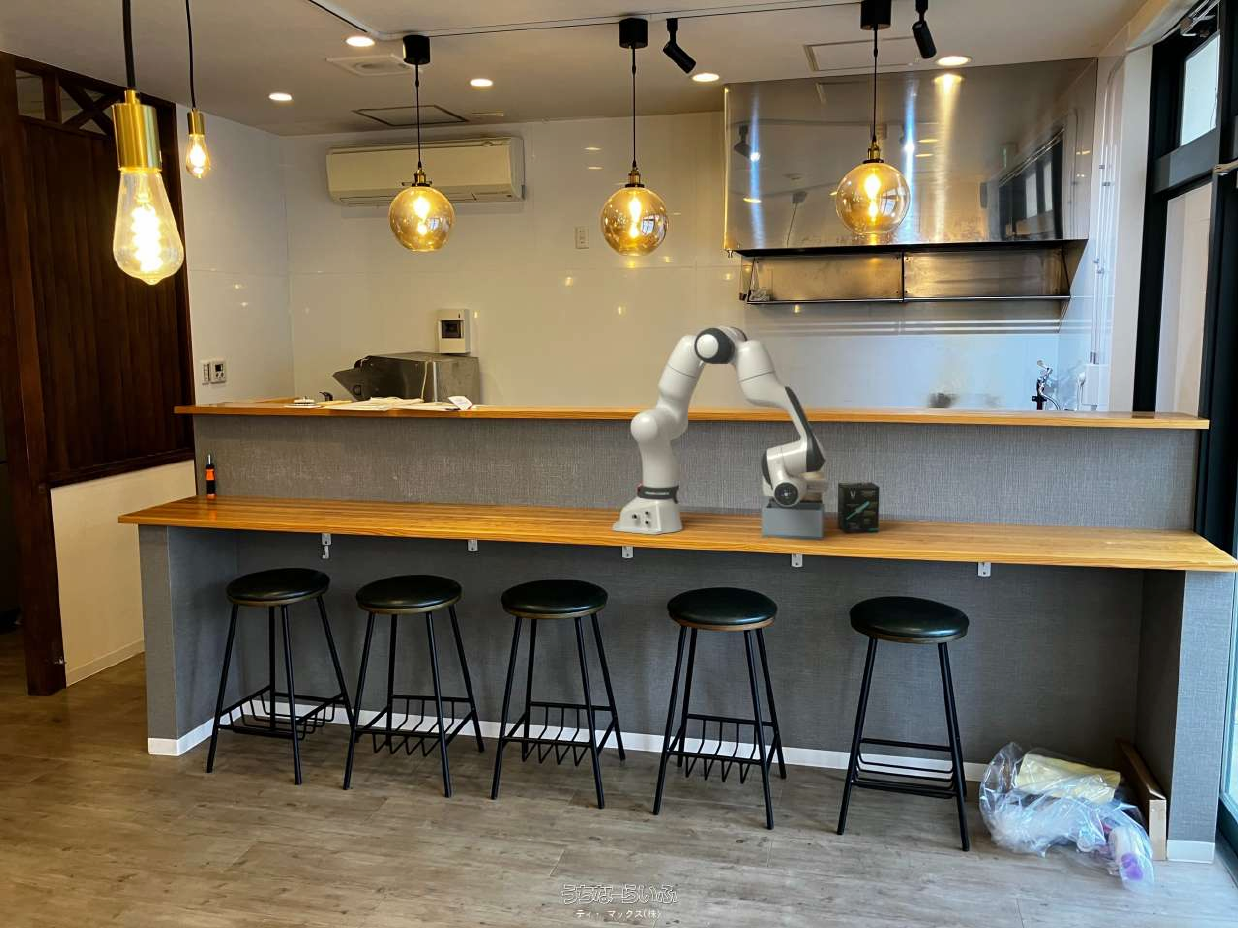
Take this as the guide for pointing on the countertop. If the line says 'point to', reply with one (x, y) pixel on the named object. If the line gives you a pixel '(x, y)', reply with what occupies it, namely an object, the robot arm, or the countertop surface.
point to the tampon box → (858, 507)
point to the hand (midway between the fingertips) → (797, 480)
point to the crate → (793, 520)
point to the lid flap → (810, 496)
